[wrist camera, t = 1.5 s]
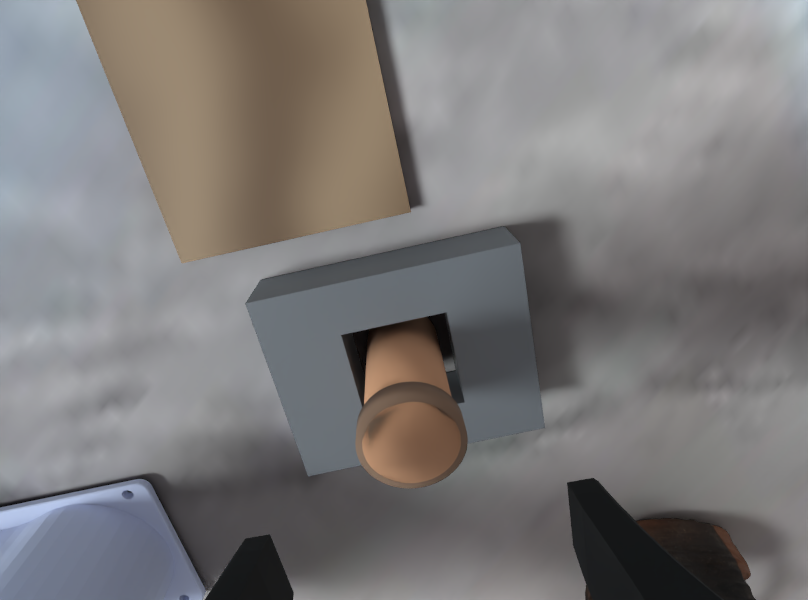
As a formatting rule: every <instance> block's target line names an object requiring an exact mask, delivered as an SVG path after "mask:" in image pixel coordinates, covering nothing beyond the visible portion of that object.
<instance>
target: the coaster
mask: <svg viewBox="0 0 808 600" xmlns="http://www.w3.org/2000/svg"><path fill="white" fill-rule="evenodd" d="M76 1H77V4H78V6H79V9H80V11H81V14H82V16H83V19H84V21H85V24H86V26H87V29H88V31H89V34H90V36H91V39H92V41H93V44H94V46H95V49H96V51H97V54H98V56H99V59H100V61H101V64H102V66H103V68H104V71H105V73H106V76H107V78H108V81H109V83H110V86H111V88H112V91H113V93H114V96H115V98H116V101H117V103H118V106H119V108H120V111H121V113H122V116H123V118H124V121H125V123H126V126H127V128H128V131H129V133H130V136H131V138H132V141H133V143H134V146H135V148H136V151H137V153H138V156H139V158H140V161H141V163H142V166H143V168H144V170H145V173H146V175H147V178H148V180H149V183H150V185H151V188H152V190H153V193H154V195H155V198H156V200H157V203H158V205H159V208H160V210H161V213H162V215H163V218H164V220H165V223H166V225H167V228H168V230H169V233H170V235H171V238H172V240H173V243H174V245H175V248H176V250H177V253H178V255H179V258H180V260H181V263H186V262H190V261H195V260H199V259H204V258H208V257H213V256H217V255H221V254H226V253H230V252H235V251H239V250H244V249H248V248H253V247H257V246H262V245H266V244H271V243H275V242H280V241H284V240H288V239H293V238H297V237H302V236H306V235H311V234H315V233H320V232H324V231H329V230H333V229H338V228H342V227H347V226H351V225H355V224H360V223H364V222H369V221H373V220H378V219H382V218H387V217H391V216H396V215H400V214H405V213H409V212H411V210H410V205H409V201H408V196H407V191H406V187H405V182H404V177H403V172H402V168H401V163H400V158H399V154H398V149H397V144H396V140H395V135H394V130H393V125H392V121H391V116H390V111H389V107H388V102H387V97H386V93H385V88H384V83H383V79H382V74H381V69H380V64H379V60H378V55H377V50H376V46H375V41H374V36H373V32H372V27H371V22H370V17H369V13H368V8H367V3H366V0H76Z"/></svg>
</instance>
